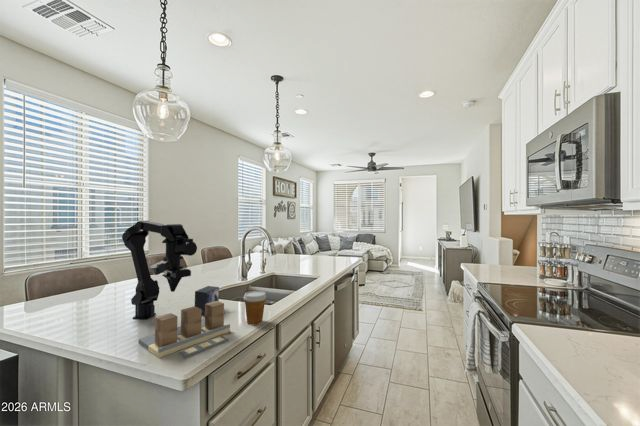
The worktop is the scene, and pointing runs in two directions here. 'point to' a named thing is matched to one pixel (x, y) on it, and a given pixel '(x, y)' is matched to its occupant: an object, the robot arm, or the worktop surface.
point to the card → (203, 346)
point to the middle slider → (191, 321)
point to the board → (182, 340)
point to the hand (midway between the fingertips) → (172, 291)
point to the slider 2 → (214, 315)
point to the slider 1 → (165, 329)
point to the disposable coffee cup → (254, 306)
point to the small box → (206, 297)
